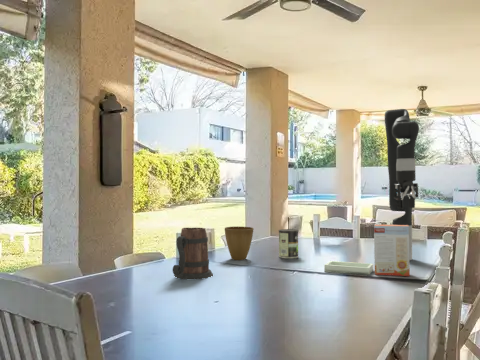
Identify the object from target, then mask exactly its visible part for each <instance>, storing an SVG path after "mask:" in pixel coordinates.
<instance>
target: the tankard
mask: <svg viewBox="0 0 480 360" xmlns="http://www.w3.org/2000/svg"><path fill="white" fill-rule="evenodd" d="M208 241H209V237H208V235H207V229H206V228H204V227H182V228H181V231H180V235H179V236H177V238H176V248H177V251H178V258H179V259H178V264H175V265H173V267H172V273H173V277H174V276H175V277H177V278H176V279H178V278H181V279H180V280H187V279H196V280H203V279H202V278H205V279H209V278H208V277H210V278H212V277H214V276H213V274H214V273H213V272H212V270H211V269H210V267H209V264H210V259H209V251H208V249H209V248H208ZM211 276H212V277H211ZM175 277H174V278H175Z"/></svg>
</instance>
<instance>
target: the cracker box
mask: <svg viewBox="0 0 480 360" xmlns="http://www.w3.org/2000/svg"><path fill="white" fill-rule="evenodd" d="M373 231H374V232H373V233H374V234H373V238H374V240H373V242H374V243H373V246H374V252H373V254H374V275H375V276H376V275H377V276H393V277H394V276H395V277H396V276H397V277H411V276H410V268H411V267H410V260H409V226H408V225H393V224H374V226H373Z"/></svg>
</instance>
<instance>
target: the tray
mask: <svg viewBox="0 0 480 360" xmlns="http://www.w3.org/2000/svg"><path fill="white" fill-rule="evenodd" d="M323 265H324V273H336V274H347V275H348V274H349V275H359V274H360V275H361V276H370V275H371V274H372V273H373V272H374V263H370V262H369V263H366V262H351V261H340V260H339V261H338V260H337V261H335V260H330V261H328V262H326V263H325V264H323ZM372 271H373V272H372ZM371 272H372V273H371ZM360 275H359V276H360Z"/></svg>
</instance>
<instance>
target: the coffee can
mask: <svg viewBox="0 0 480 360" xmlns="http://www.w3.org/2000/svg"><path fill="white" fill-rule="evenodd" d="M278 255H279V256H278V257H279V258H281V259H297V258H299V230H298V229H294V228H292V229H291V228H289V229H287V228H285V229H283V228H282V229H278Z"/></svg>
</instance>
